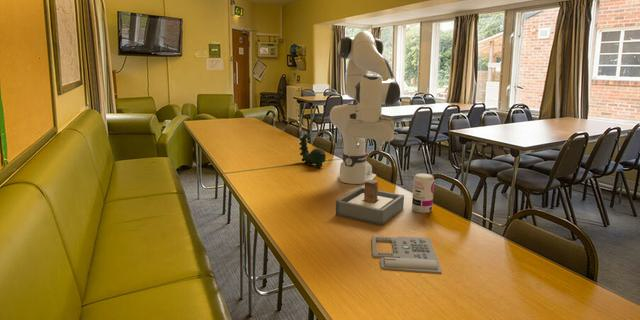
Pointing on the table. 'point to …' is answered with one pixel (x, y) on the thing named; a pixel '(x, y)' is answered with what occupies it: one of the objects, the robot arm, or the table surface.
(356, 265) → the table surface
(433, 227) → the table surface
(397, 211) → the open box
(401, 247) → the office telephone
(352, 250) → the table surface
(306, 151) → the toy figurine
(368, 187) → the peg
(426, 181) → the supplement can
